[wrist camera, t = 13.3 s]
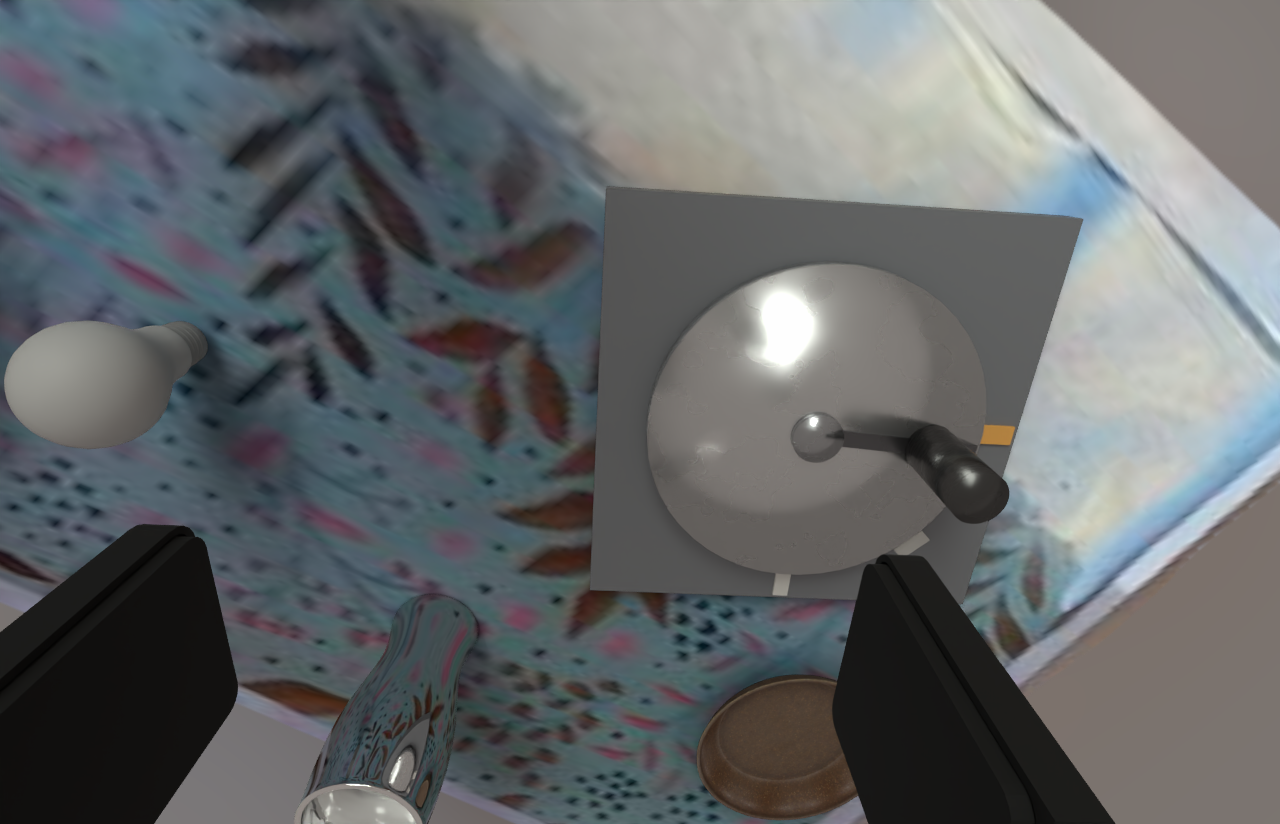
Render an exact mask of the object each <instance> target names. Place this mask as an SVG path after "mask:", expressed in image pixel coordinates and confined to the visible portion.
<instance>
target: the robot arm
mask: <svg viewBox="0 0 1280 824" xmlns="http://www.w3.org/2000/svg"><path fill="white" fill-rule="evenodd" d="M237 692H238V683H237V678H236V673H235V669H234V665H233V660H232V656H231V652H230V647H229V643H228V639H227V634H226V630H225V626H224V621H223V617H222V613H221V608H220V604H219V600H218V595H217V591H216V587H215V582H214V578H213V574H212V569H211V565H210V561H209V556H208V552H207V547H206V545H205V542H204V541H203V540H202V539H201V538H199V537H195V535H194V533H193V531H192V530H191V529H190V528H188V527H185V526H175V525H150V524H142V525H137V526H135V527H133V528H131V529H130V530H129V531H127V532H126V533H125V534H124V535H122V536H121V537H120V538H118V539H117V540H116V541H115V542H113V543H112V544H111V545H110V546H108V547H107V548H106V549H105V550H103V551H102V552H101V553H100V554H98V555H97V556H96V557H95V558H93V559H92V560H91V561H89V562H88V563H87V564H86V565H84V566H83V567H82V568H81V569H79V570H78V571H77V572H76V573H74V574H73V575H72V576H71V577H69V578H68V579H67V580H66V581H64V582H63V583H62V584H60V585H59V586H58V587H57V588H55V589H54V590H53V591H52V592H50V593H49V594H48V595H47V596H45V597H44V598H43V599H42V600H40V601H39V602H38V603H37V604H35V605H34V606H33V607H31V608H30V609H29V610H28V611H26V612H25V613H24V614H23V615H22V616H20V617H19V618H18V619H17V620H15V621H14V622H13V623H11V624H10V625H9V626H8V627H6V628H5V629H4V630H3V631H1V632H0V824H154V823H155V821H156V820H157V819H158V817H159V816H160V814H161V813H162V811H163V810H164V808H165V807H166V805H167V804H168V802H169V801H170V800H171V798H172V797H173V795H174V794H175V792H176V791H177V789H178V788H179V786H180V785H181V784H182V782H183V781H184V779H185V778H186V776H187V775H188V773H189V772H190V770H191V769H192V767H193V766H194V764H195V763H196V762H197V760H198V758H199V757H200V756H201V754H202V753H203V751H204V750H205V749H206V747H207V745H208V744H209V743H210V741H211V740H212V738H213V737H214V735H215V734H216V732H217V731H218V730H219V728H220V727H221V725H222V724H223V722H224V721H225V719H226V718H227V716H228V715H229V713H230V712H231V710H232V708H233V706H234V704H235V701H236V697H237ZM832 717H833V723H834V727H835V731H836V734H837V736H838V739H839V742H840V745H841V748H842V750H843V753H844V756H845V759H846V762H847V765H848V767H849V770H850V773H851V776H852V779H853V781H854V784H855V787H856V790H857V793H858V796H859V798H860V801H861V804H862V807H863V810H864V812H865V815H866V818H867V821H868V824H1115V822H1114V821H1113V820H1112V818H1111V817H1110V816H1109V814H1108V813H1107V811H1106V810H1105V808H1104V807H1103V806H1102V804H1101V803H1100V801H1099V800H1098V799H1097V797H1096V796H1095V794H1094V793H1093V792H1092V790H1091V789H1090V787H1089V786H1088V785H1087V783H1086V782H1085V781H1084V779H1083V778H1082V776H1081V775H1080V773H1079V772H1078V771H1077V769H1076V768H1075V767H1074V765H1073V764H1072V762H1071V761H1070V759H1069V758H1068V757H1067V755H1066V754H1065V752H1064V751H1063V750H1062V749H1061V747H1060V745H1059V744H1058V743H1057V741H1056V740H1055V738H1054V737H1053V736H1052V734H1051V733H1050V731H1049V730H1048V729H1047V727H1046V726H1045V724H1044V723H1043V722H1042V720H1041V719H1040V717H1039V716H1038V715H1037V713H1036V712H1035V711H1034V709H1033V708H1032V707H1031V705H1030V704H1029V702H1028V701H1027V699H1026V698H1025V696H1024V695H1023V694H1022V692H1021V691H1020V689H1019V688H1018V687H1017V685H1016V684H1015V682H1014V681H1013V680H1012V678H1011V677H1010V675H1009V674H1008V673H1007V671H1006V670H1005V668H1004V667H1003V666H1002V664H1001V663H1000V662H999V660H998V659H997V658H996V656H995V655H994V653H993V652H992V651H991V649H990V648H989V646H988V645H987V644H986V642H985V641H984V639H983V638H982V637H981V635H980V634H979V632H978V631H977V630H976V628H975V627H974V625H973V624H972V623H971V621H970V620H969V618H968V617H967V616H966V614H965V613H964V611H963V610H962V609H961V607H960V606H959V604H958V603H957V602H956V600H955V599H954V597H953V596H952V595H951V593H950V592H949V590H948V589H947V588H946V586H945V585H944V583H943V582H942V581H941V579H940V578H939V576H938V575H937V574H936V572H935V571H934V569H933V568H932V567H931V565H930V564H929V562H928V561H927V560H926V559H925V558H924V557H922V556H917V555H892V554H882V555H880V556H879V557H878V558H877V560H876V563H875V564H867V565H866V567H865V568H864V571H863V574H862V579H861V583H860V587H859V591H858V596H857V600H856V604H855V608H854V613H853V617H852V621H851V625H850V630H849V634H848V638H847V642H846V646H845V651H844V655H843V659H842V663H841V668H840V672H839V676H838V680H837V685H836V689H835V693H834V697H833V703H832Z"/></svg>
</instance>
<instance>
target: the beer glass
mask: <svg viewBox="0 0 1280 824" xmlns="http://www.w3.org/2000/svg"><path fill="white" fill-rule="evenodd" d="M477 638H478V624H477V621H476V619H475V617H474V615H473V614H472V612H471V611H470V610H469V609H468V608H467V607H466V606H465V605H464V604H462V603H461V602H459V601H457V600H455V599H453V598H450V597H447V596H443V595H437V594H427V595H421V596H417V597H414V598H412V599H410V600H408V601H407V602H405V603H404V604H403V605H402V606H401V607H400V608H399V609H398V611H397V612H396V614H395V616H394V619H393V622H392V627H391V631H390V636H389V641H388V644H387V647H386V649H385V651H384V653H383V655H382V657H381V658H380V660H379V661H378V663H377V664H376V665H375V667H374V668H373V670H372V671H371V672H370V673H369V675H368V676H367V677H366V679H365V680H364V681H363V683H362V684H361V685H360V687H359V688H358V689H357V691H356V692H355V693H354V695H353V696H352V697H351V699H350V700H349V702H348V703H347V705H346V706H345V708H344V709H343V711H342V712H341V714H340V715H339V717H338V719H337V720H336V722H335V724H334V726H333V728H332V730H331V732H330V733H329V735H328V737H327V739H326V741H325V744H324V746H323V748H322V750H321V752H320V755H319V757H318V759H317V761H316V764H315V766H314V769H313V771H312V774H311V776H310V779H309V781H308V784H307V787H306V789H305V792H304V795H303V797H302V799H301V802H300V804H299V806H298V808H297V810H296V812H295V816H294V824H428V822H429V820H430V818H431V815H432V812H433V810H434V807H435V804H436V802H437V799H438V796H439V793H440V791H441V787H442V784H443V781H444V778H445V775H446V771H447V768H448V764H449V759H450V755H451V751H452V746H453V739H454V732H455V724H456V712H457V698H458V687H459V679H460V674H461V670H462V668H463V666H464V663H465V662H466V660H467V658H468V657H469V655H470V653H471V651H472V650H473V648H474V646H475V644H476V641H477Z"/></svg>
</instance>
